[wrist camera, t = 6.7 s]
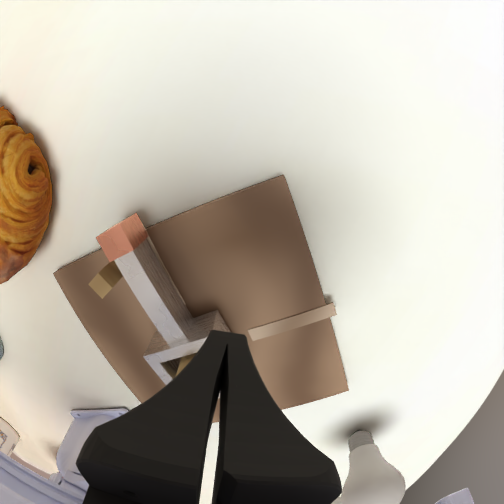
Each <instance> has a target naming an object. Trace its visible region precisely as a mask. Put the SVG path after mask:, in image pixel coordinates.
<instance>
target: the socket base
mask: <svg viewBox="0 0 504 504" xmlns="http://www.w3.org/2000/svg"><path fill="white" fill-rule="evenodd" d="M142 224H143V223H142ZM143 226H144V225H143ZM144 228H145V227H144ZM145 230H146V232H147V234H148V237H147V240H148V242H149V244H150V245H151V247H152V249H153V251H154V253H155V254H156V256H157V258H158V260H159V262H160V263H161V265H162V267H163V269H164V270H165V272H166V274H167V276H168V277H169V279H170V281H171V282H172V284H173V286H174V287H175V289H176V291H177V293H178V294H179V296H180V298H181V299H182V301H183V302H184V304H185V306H186V307H187V309H188V311H189V312H190V314H191V315H192V317H193V318H196V317H199V316H201V315H204V314H207V313H210V312H213V311H215V310H218V312H219V313H220V315H221V317H222V319H223V320H224V322H225V324H226V325H227V327H228V329H229V330H230V332H231V333H238V334H244V335H245V336H246V337H247V341H248V345H249V349H250V352H251V355H252V358H253V360H254V363H255V365H256V368H257V370H258V372H259V374H260V376H261V378H262V380H263V382H264V384H265V386H266V388H267V390H268V391H269V393H270V395H271V396H272V398H273V399H274V401H275V402H276V404H277V405H278V407H279V408H280V410H282V409H286V408H290V407H294V406H298V405H302V404H306V403H309V402H313V401H316V400H320V399H323V398H327V397H330V396H333V395H336V394H339V393H342V392H346V391H349V389H348V385H347V381H346V377H345V373H344V369H343V365H342V361H341V357H340V353H339V349H338V346H337V342H336V338H335V334H334V331H333V327H332V324H331V320H330V317H332V316H335V315H337V314H336V310H335V306H334V303H333V302H332V303H329V304H326V303H325V299H324V296H323V292H322V289H321V286H320V282H319V279H318V276H317V272H316V269H315V266H314V263H313V260H312V256H311V253H310V250H309V247H308V244H307V241H306V238H305V235H304V232H303V229H302V226H301V223H300V220H299V217H298V214H297V211H296V208H295V205H294V202H293V199H292V196H291V193H290V191H289V188H288V185H287V182H286V179H285V177H284V175H281V176H278V177H275V178H272V179H269V180H267V181H264V182H261V183H258V184H256V185H253V186H250V187H247V188H245V189H242V190H239V191H237V192H234V193H231V194H229V195H226V196H223V197H221V198H218V199H216V200H213V201H211V202H208V203H206V204H203V205H200V206H198V207H195V208H193V209H191V210H188V211H186V212H183V213H181V214H178V215H176V216H174V217H171V218H169V219H166V220H164V221H162V222H159V223H157V224H155V225H152V226H150V227H148V228H145ZM53 274H54V276H55V278H56V280H57V282H58V283H59V285H60V287H61V289H62V291H63V292H64V294H65V296H66V298H67V299H68V301H69V303H70V304H71V306H72V308H73V310H74V311H75V313H76V314H77V316H78V318H79V319H80V321H81V322H82V324H83V326H84V327H85V329H86V330H87V332H88V333H89V335H90V336H91V338H92V339H93V341H94V342H95V344H96V345H97V346H98V348H99V349H100V351H101V352H102V354H103V355H104V356H105V358H106V359H107V360H108V362H109V363H110V365H111V366H112V367H113V369H114V370H115V371H116V372H117V374H118V375H119V376H120V378H121V379H122V380H123V381H124V383H125V384H126V385H127V386H128V388H129V389H130V390H131V391H132V393H133V394H134V395H135V396H136V397H137V399H138V400H139V401H140V402H141V403H143V402H145V401H146V400H148V399H149V398H151V397H152V396H153V395H155V394H156V393H157V392H159V391H160V390H161V389H162V388H164V387H165V386H166V384H165V383H164V382H163V381H162V380H161V378H160V377H159V376H158V375H157V374H156V372H155V371H154V370H153V369H152V367H151V366H150V365H149V364H148V362H147V361H146V360H145V359H144V357H143V356H144V353H145V351H146V349H147V347H148V345H149V343H150V341H151V339H152V337H153V335H154V333H155V331H158V329H157V328H156V326H155V325H154V324H153V322H152V321H151V319H150V318H149V316H148V315H147V313H146V312H145V310H144V308H143V307H142V305H141V304H140V302H139V301H138V299H137V298H136V296H135V294H134V293H133V291H132V290H131V288H130V286H129V285H128V283H127V281H126V280H125V278H124V276H123V275H122V273H121V271H120V270H119V268H118V266H117V265H116V263H115V261H112V262H109V260H108V258H107V257H106V255H105V253H104V251H103V250H102V248H101V249H99V250H97V251H95V252H93V253H91V254H89V255H87V256H85V257H83V258H80V259H78V260H76V261H74V262H72V263H70V264H68V265H66V266H64V267H62V268H60V269H58V270H57V271H56V272H55V273H53ZM195 354H196V353H193V354H190V355H187V356H183V357H182V358H181V361H180V364H179V367H178V370H177V373H176V376H177V375H178V374H179V373H180V372H181V371H182V370H183V368H184V367H185V366H186V365H187V364H188V363H189V362H190V361H191V359H192V358H193V357H194V356H195ZM219 414H220V398H219V399H218V401H217V405H216V409H215V413H214V417H213V421H212V423H214V422H219Z"/></svg>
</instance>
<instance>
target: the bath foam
mask: <svg viewBox="0 0 504 504" xmlns="http://www.w3.org/2000/svg"><path fill="white" fill-rule="evenodd" d="M18 441H19V436H18V434H17V432H16V431H15V430H14V429H13V428H12V427H11V426H10V425H9V424H8V423H7V422H6V421H4V420H3V419H2V418H0V451H1V452H3V453H4V454H6V455H7V456H9V457H10V455H11V453H12V451H13V449H14V448H15V446H16V444H17V442H18Z"/></svg>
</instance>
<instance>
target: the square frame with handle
mask: <svg viewBox="0 0 504 504" xmlns="http://www.w3.org/2000/svg"><path fill="white" fill-rule="evenodd" d="M147 237H148V234H147V232H146V230H145V228H144V226H143V224H142V222H141V220H140V219H139V217H138V215H137V213H135V214H133V215H132V216H130V217H128V218H126V219H124V220H123V221H121V222H119V223H117V224H116V225H114V226H112V227H111V228H109V229H108V230H106V231H105V232H103V233H102V234H100V235H99V236H97V237H96V239H97V240H98V242H99V244H100V246H101V248H102V250H103V251H104V253H105V255H106V257H107V258H108V260H109V262H112V261H115V263H116V265H117V266H118V268H119V270H120V271H121V273H122V275H123V276H124V278H125V280H126V281H127V283H128V285H129V286H130V288H131V290H132V291H133V293H134V294H135V296H136V298H137V299H138V301H139V302H140V304H141V305H142V307H143V308H144V310H145V312H146V313H147V315H148V316H149V318H150V319H151V321H152V322H153V324H154V325H155V326H156V328H157V329H158V331H155V333H154V335H153V337H152V339H151V341H150V343H149V345H148V347H147V349H146V351H145V353H144V356H143V357H144V359H145V360H146V361H147V362H148V364H149V365H150V366H151V367H152V369H153V370H154V371H155V372H156V374H157V375H158V376H159V377H160V378H161V380H162V381H163V382H164V383H165V384H166V385H167V384H168V383H169V382H170V381H172V380H173V379H174V378H175V377H176V373H177V370H178V367H179V364H180V361H181V358H182V357H183V356H187V355H190V354H193V353H197V352H198V351H199V349H200V348H201V346H202V345H203V343H204V342H205V340H206V339H207V337H208V335H209V333H210V331H212V330H218V331H225V332H230V330H229V329H228V327H227V325H226V324H225V322H224V320H223V319H222V317H221V315H220V313H219V312H218V310H215V311H213V312H210V313H207V314H204V315H201V316H199V317H196V318H193V317H192V315H191V314H190V312H189V311H188V309H187V307H186V306H185V304H184V302H183V301H182V299H181V298H180V296H179V294H178V293H177V291H176V289H175V287H174V286H173V284H172V282H171V281H170V279H169V277H168V276H167V274H166V272H165V270H164V269H163V267H162V265H161V263H160V262H159V260H158V258H157V256H156V254H155V253H154V251H153V249H152V247H151V245H150V244H149V242H148V240H147ZM219 398H220V393H219V397H218V399H219Z"/></svg>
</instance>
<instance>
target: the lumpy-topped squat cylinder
mask: <svg viewBox="0 0 504 504" xmlns="http://www.w3.org/2000/svg"><path fill="white" fill-rule="evenodd" d="M331 504H342V499H341V497H338V498H337V499H336V500H334V501H333V502H332V503H331Z"/></svg>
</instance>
